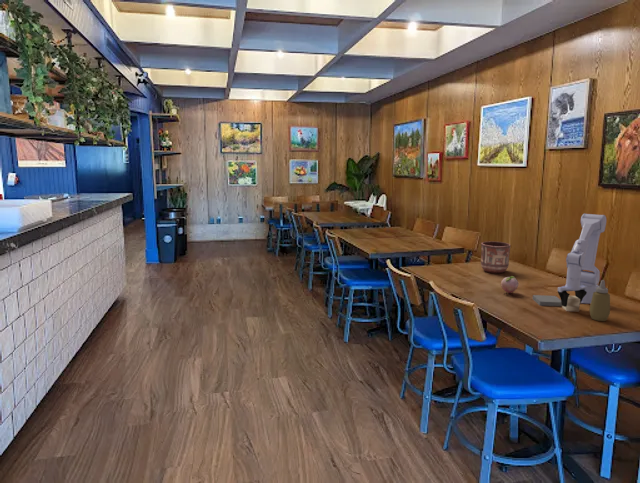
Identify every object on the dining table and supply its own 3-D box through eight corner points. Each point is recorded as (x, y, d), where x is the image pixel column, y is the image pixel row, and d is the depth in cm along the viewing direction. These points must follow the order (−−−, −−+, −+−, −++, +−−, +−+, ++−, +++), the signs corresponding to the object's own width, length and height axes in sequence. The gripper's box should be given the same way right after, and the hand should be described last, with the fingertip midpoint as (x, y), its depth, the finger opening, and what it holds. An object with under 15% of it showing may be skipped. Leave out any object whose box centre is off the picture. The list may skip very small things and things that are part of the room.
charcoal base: (554, 300, 235) (555, 295, 234) (563, 307, 224) (563, 302, 223) (532, 299, 236) (532, 295, 235) (539, 306, 225) (540, 301, 225)
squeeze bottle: (601, 316, 210) (606, 277, 206) (613, 322, 202) (618, 282, 199) (584, 316, 209) (588, 278, 206) (595, 322, 201) (599, 282, 198)
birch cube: (574, 307, 221) (575, 295, 220) (579, 311, 216) (580, 299, 215) (562, 307, 222) (563, 295, 221) (566, 311, 217) (567, 298, 216)
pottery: (473, 269, 298) (475, 242, 295) (493, 267, 305) (495, 240, 302) (493, 276, 282) (496, 247, 279) (514, 273, 290) (517, 245, 286)
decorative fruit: (503, 290, 251) (504, 272, 250) (519, 292, 246) (520, 274, 245) (497, 294, 244) (499, 275, 243) (513, 296, 239) (515, 278, 237)
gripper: (580, 274, 222) (577, 302, 224) (554, 276, 219) (551, 303, 221) (591, 278, 215) (588, 306, 217) (564, 280, 212) (562, 308, 214)
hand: (570, 305), depth 219 cm, fingers closed on birch cube, 7 cm apart
